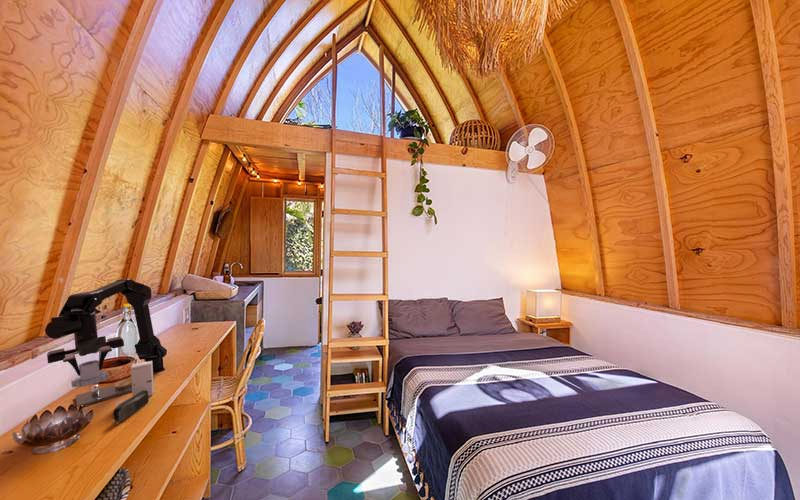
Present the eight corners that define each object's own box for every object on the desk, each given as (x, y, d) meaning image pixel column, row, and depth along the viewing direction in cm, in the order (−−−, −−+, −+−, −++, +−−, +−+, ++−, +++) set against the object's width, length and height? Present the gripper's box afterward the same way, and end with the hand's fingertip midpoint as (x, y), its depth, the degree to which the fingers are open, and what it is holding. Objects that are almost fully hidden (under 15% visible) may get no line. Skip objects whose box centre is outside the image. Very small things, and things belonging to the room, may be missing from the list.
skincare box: (132, 400, 114) (129, 367, 113) (134, 395, 118) (131, 364, 117) (153, 395, 117) (150, 363, 117) (154, 390, 121) (152, 359, 121)
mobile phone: (141, 389, 112) (107, 410, 98) (150, 388, 113) (117, 409, 98) (141, 402, 112) (108, 426, 98) (150, 402, 113) (118, 425, 98)
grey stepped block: (106, 372, 116) (105, 355, 116) (110, 379, 110) (108, 361, 110) (70, 382, 109) (69, 364, 109) (72, 390, 103) (70, 371, 103)
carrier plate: (137, 380, 131) (136, 369, 131) (142, 388, 124) (142, 377, 123) (75, 398, 118) (74, 386, 118) (77, 408, 110) (76, 395, 110)
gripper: (45, 341, 97) (50, 390, 97) (124, 326, 111) (128, 369, 111) (45, 335, 104) (50, 380, 105) (119, 321, 118) (123, 361, 119)
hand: (89, 372), depth 110 cm, fingers closed on grey stepped block, 5 cm apart
